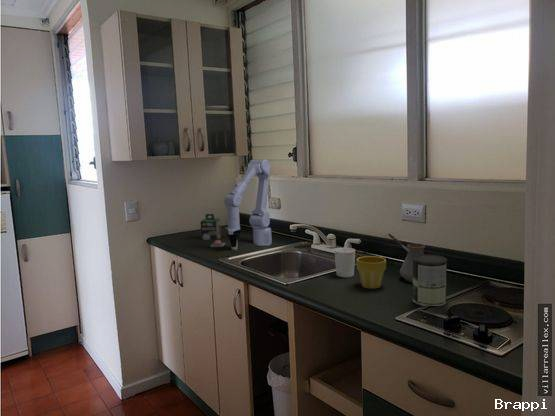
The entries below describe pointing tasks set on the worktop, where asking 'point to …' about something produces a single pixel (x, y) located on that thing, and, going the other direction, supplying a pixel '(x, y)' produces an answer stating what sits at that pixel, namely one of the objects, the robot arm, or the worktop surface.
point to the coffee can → (429, 280)
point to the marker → (234, 247)
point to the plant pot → (371, 270)
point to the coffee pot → (409, 258)
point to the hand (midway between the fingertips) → (234, 246)
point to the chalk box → (210, 228)
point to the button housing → (217, 245)
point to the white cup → (345, 262)
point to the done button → (218, 242)
